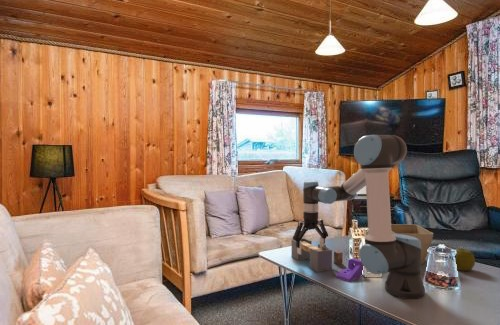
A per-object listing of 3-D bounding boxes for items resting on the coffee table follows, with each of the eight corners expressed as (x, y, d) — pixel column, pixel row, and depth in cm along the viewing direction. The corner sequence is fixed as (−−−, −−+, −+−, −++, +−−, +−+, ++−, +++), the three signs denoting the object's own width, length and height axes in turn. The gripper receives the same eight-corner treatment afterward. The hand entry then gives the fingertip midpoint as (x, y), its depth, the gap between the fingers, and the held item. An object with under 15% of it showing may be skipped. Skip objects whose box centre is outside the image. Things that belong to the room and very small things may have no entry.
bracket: (350, 271, 165) (350, 257, 164) (363, 275, 160) (363, 261, 159) (336, 278, 157) (336, 263, 156) (349, 282, 152) (349, 267, 151)
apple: (470, 275, 158) (470, 251, 158) (447, 269, 166) (448, 247, 165) (477, 270, 165) (478, 247, 164) (455, 264, 172) (456, 243, 172)
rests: (342, 263, 174) (342, 252, 174) (337, 264, 173) (337, 253, 173) (322, 254, 190) (322, 243, 189) (318, 254, 188) (318, 244, 188)
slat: (324, 255, 169) (324, 250, 169) (317, 256, 167) (317, 251, 167) (304, 245, 185) (304, 241, 185) (298, 246, 184) (298, 242, 184)
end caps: (331, 269, 167) (332, 249, 167) (317, 271, 164) (317, 252, 163) (304, 254, 189) (304, 237, 189) (291, 256, 186) (291, 239, 185)
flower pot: (433, 267, 169) (434, 233, 168) (394, 266, 170) (395, 233, 169) (415, 254, 188) (416, 224, 187) (380, 254, 189) (381, 224, 188)
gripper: (326, 207, 184) (326, 246, 185) (285, 211, 173) (285, 253, 175) (335, 210, 177) (335, 250, 178) (293, 214, 167) (293, 257, 168)
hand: (310, 252), depth 176 cm, fingers open, 13 cm apart
